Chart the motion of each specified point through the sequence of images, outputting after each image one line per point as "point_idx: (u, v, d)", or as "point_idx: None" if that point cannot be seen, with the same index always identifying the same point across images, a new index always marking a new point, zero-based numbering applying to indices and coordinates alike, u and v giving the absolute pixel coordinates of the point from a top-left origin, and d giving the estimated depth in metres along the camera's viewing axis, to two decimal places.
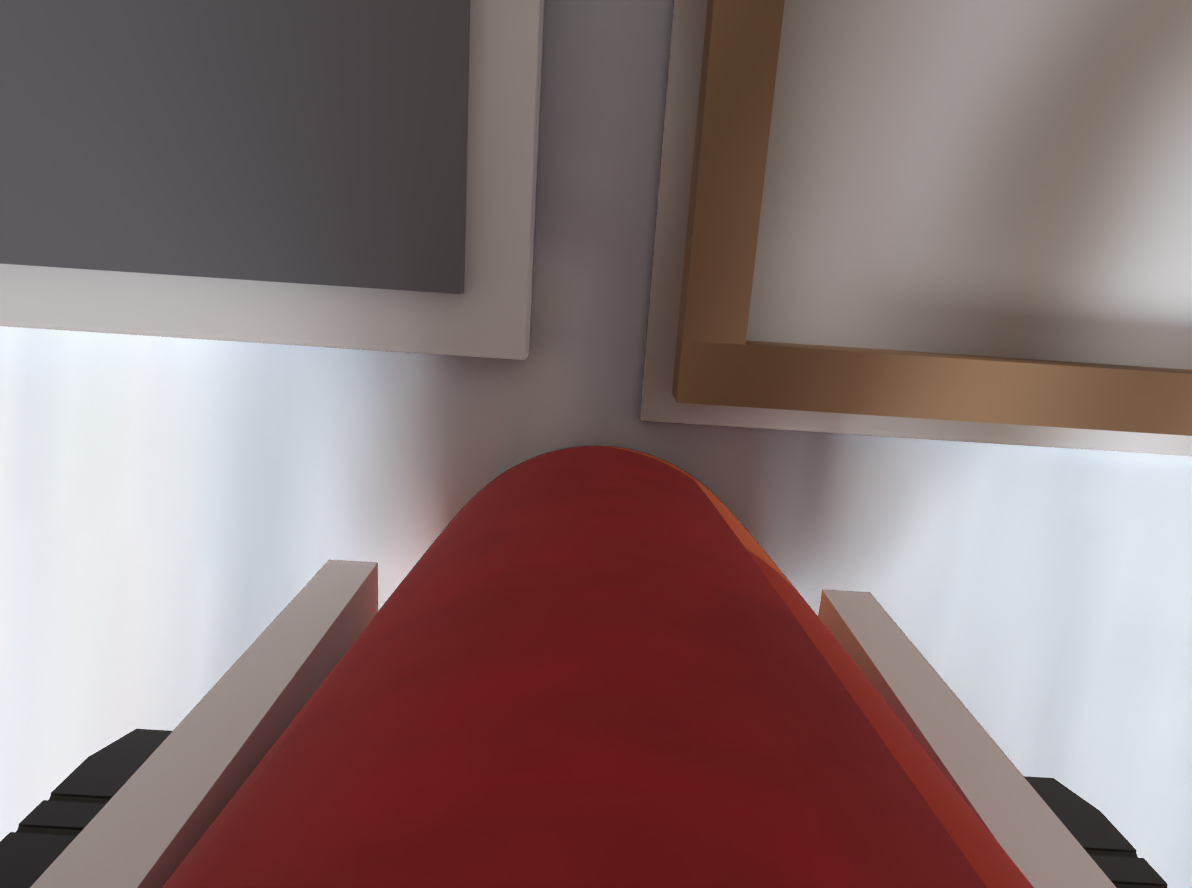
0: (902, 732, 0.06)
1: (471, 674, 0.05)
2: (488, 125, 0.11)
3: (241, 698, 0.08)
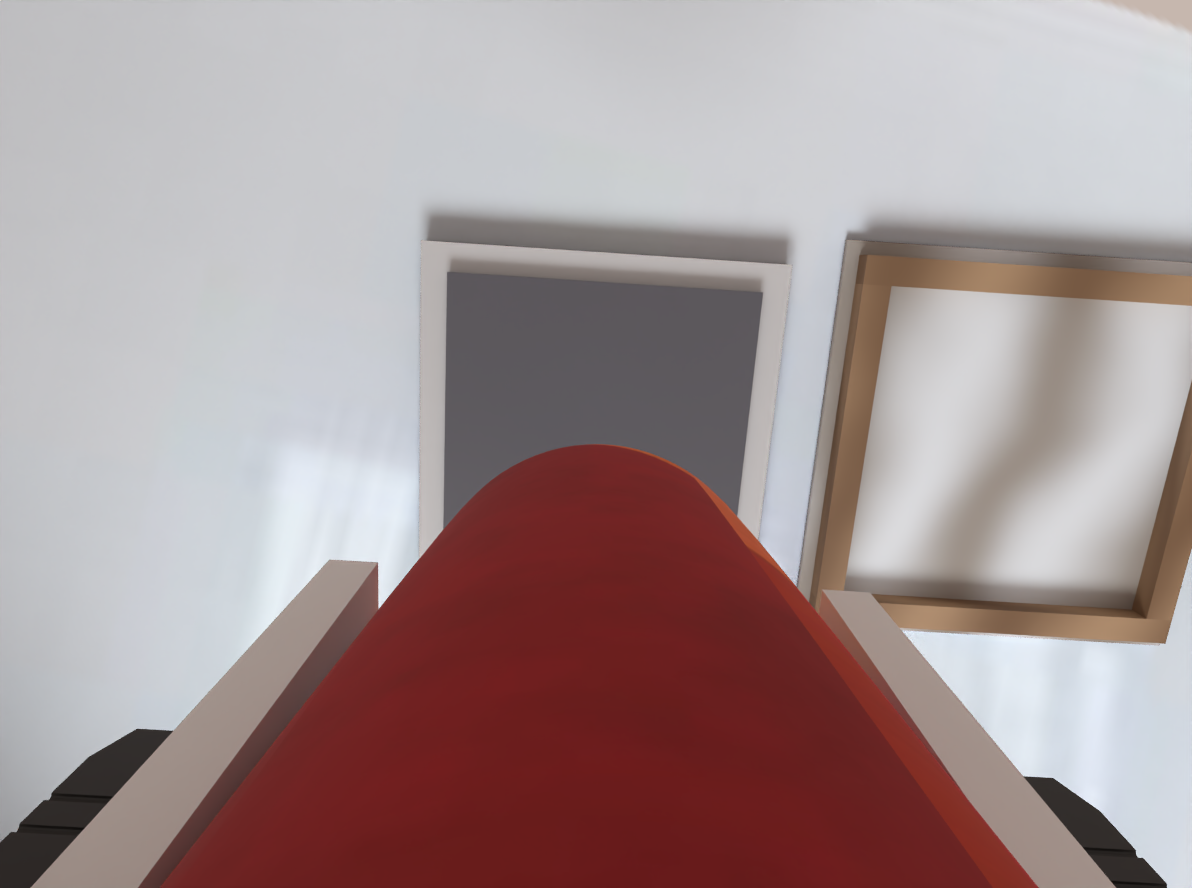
0: (903, 729, 0.06)
1: (473, 669, 0.05)
2: (742, 519, 0.28)
3: (242, 698, 0.08)
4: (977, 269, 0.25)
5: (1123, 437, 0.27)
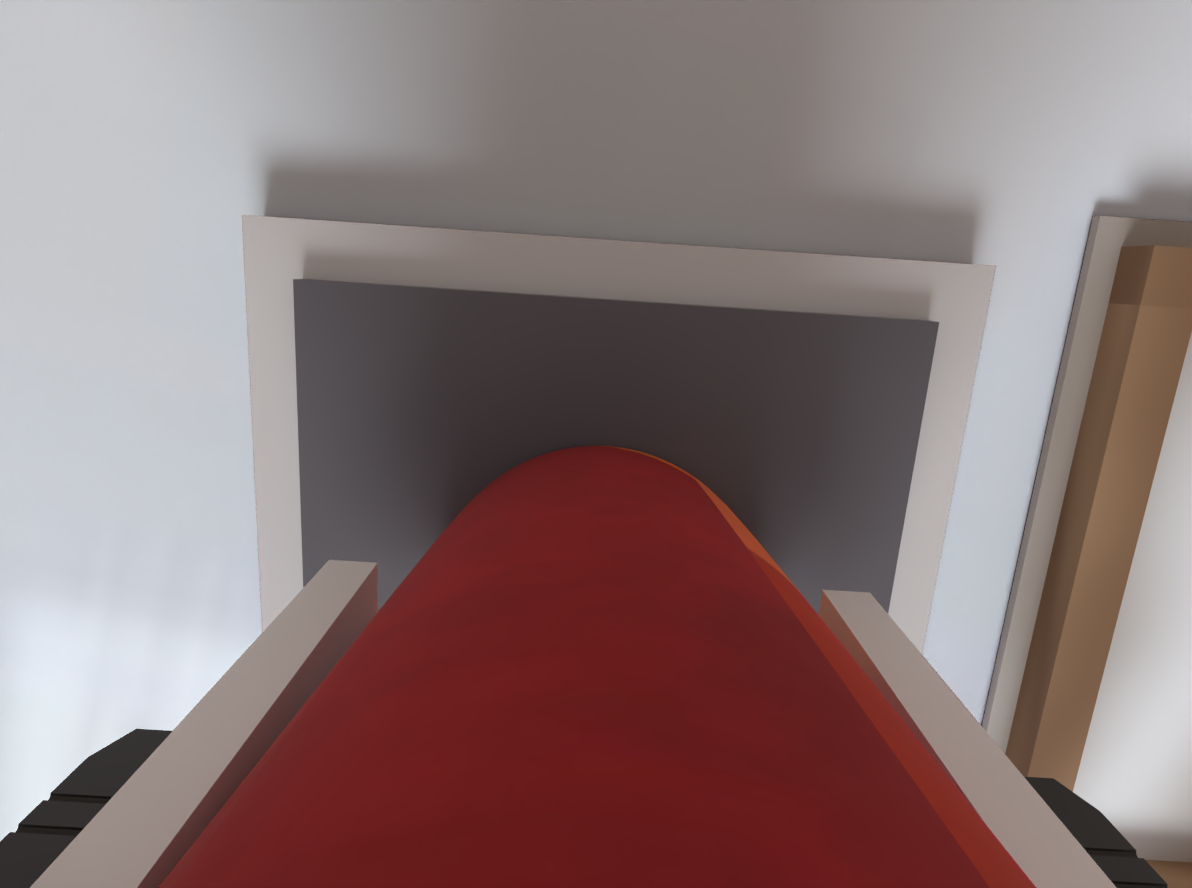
0: (903, 731, 0.05)
1: (473, 669, 0.05)
2: None
3: (241, 698, 0.08)
4: None
5: None
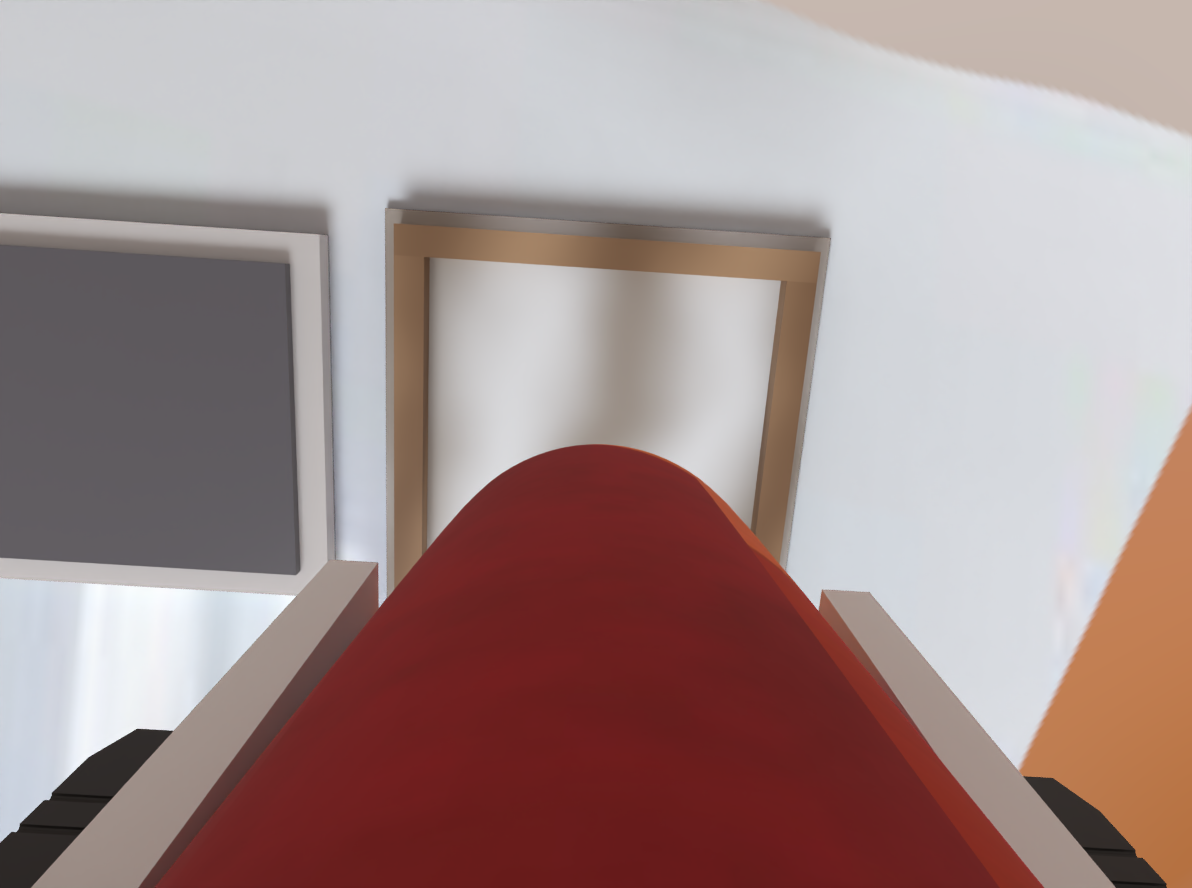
0: (905, 726, 0.05)
1: (474, 665, 0.05)
2: (306, 507, 0.26)
3: (242, 698, 0.08)
4: (513, 239, 0.24)
5: (707, 419, 0.26)
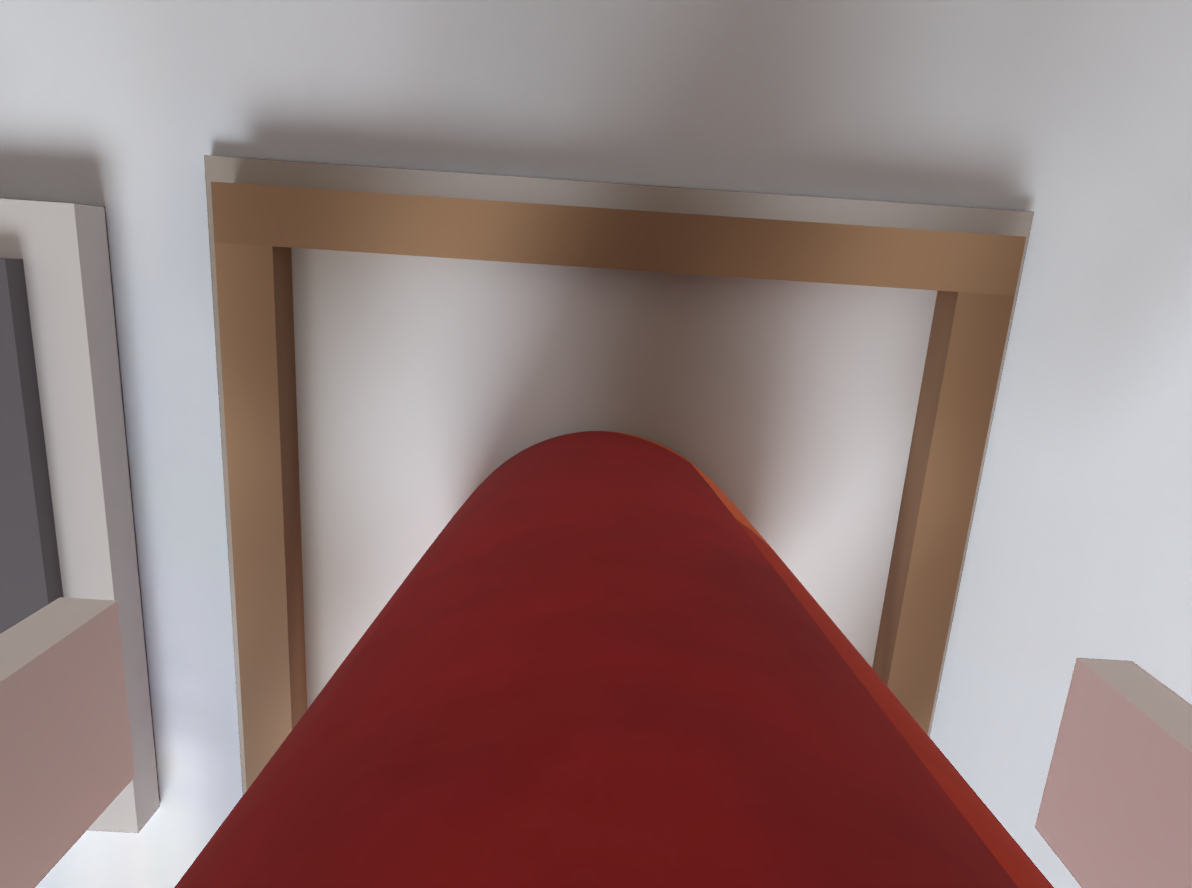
0: (861, 659, 0.07)
1: (516, 599, 0.06)
2: None
3: None
4: (440, 212, 0.12)
5: (795, 535, 0.15)
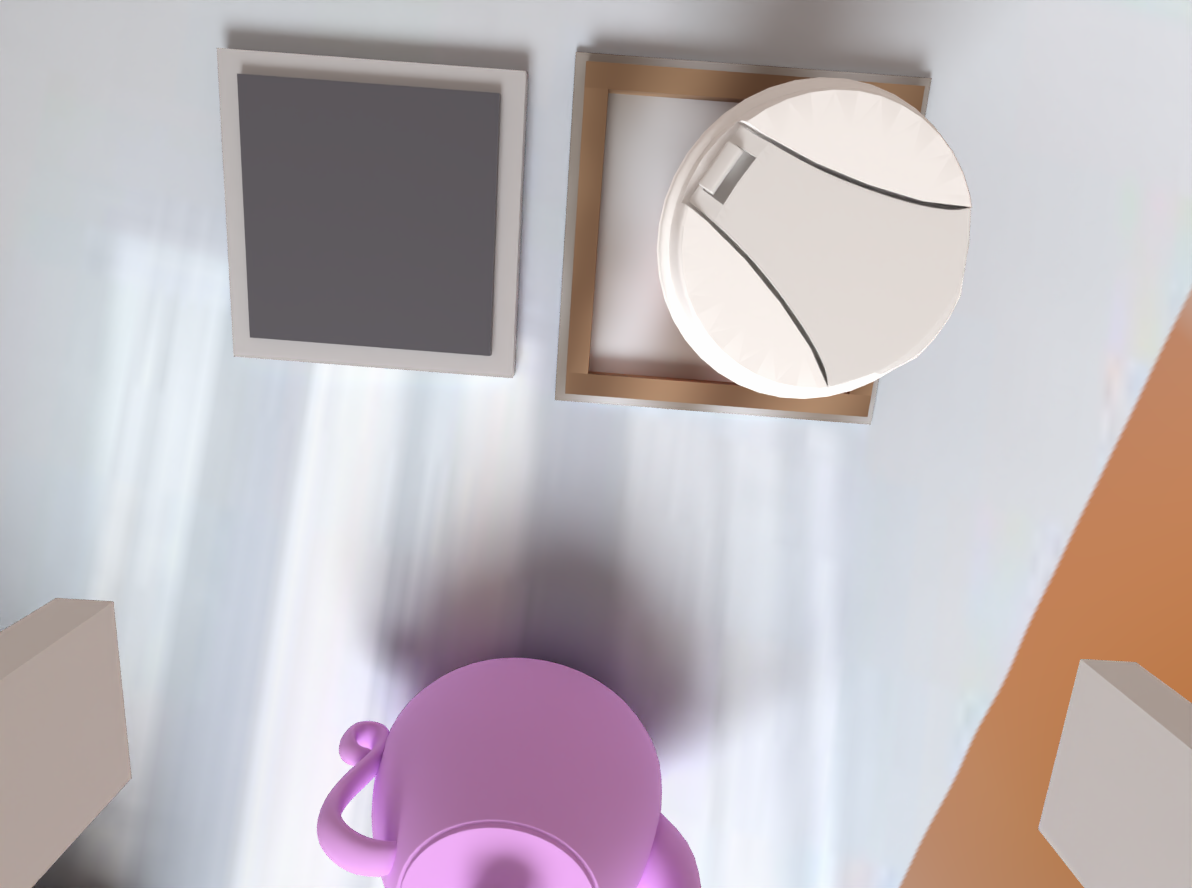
0: None
1: None
2: (500, 300, 0.33)
3: None
4: (679, 74, 0.30)
5: None
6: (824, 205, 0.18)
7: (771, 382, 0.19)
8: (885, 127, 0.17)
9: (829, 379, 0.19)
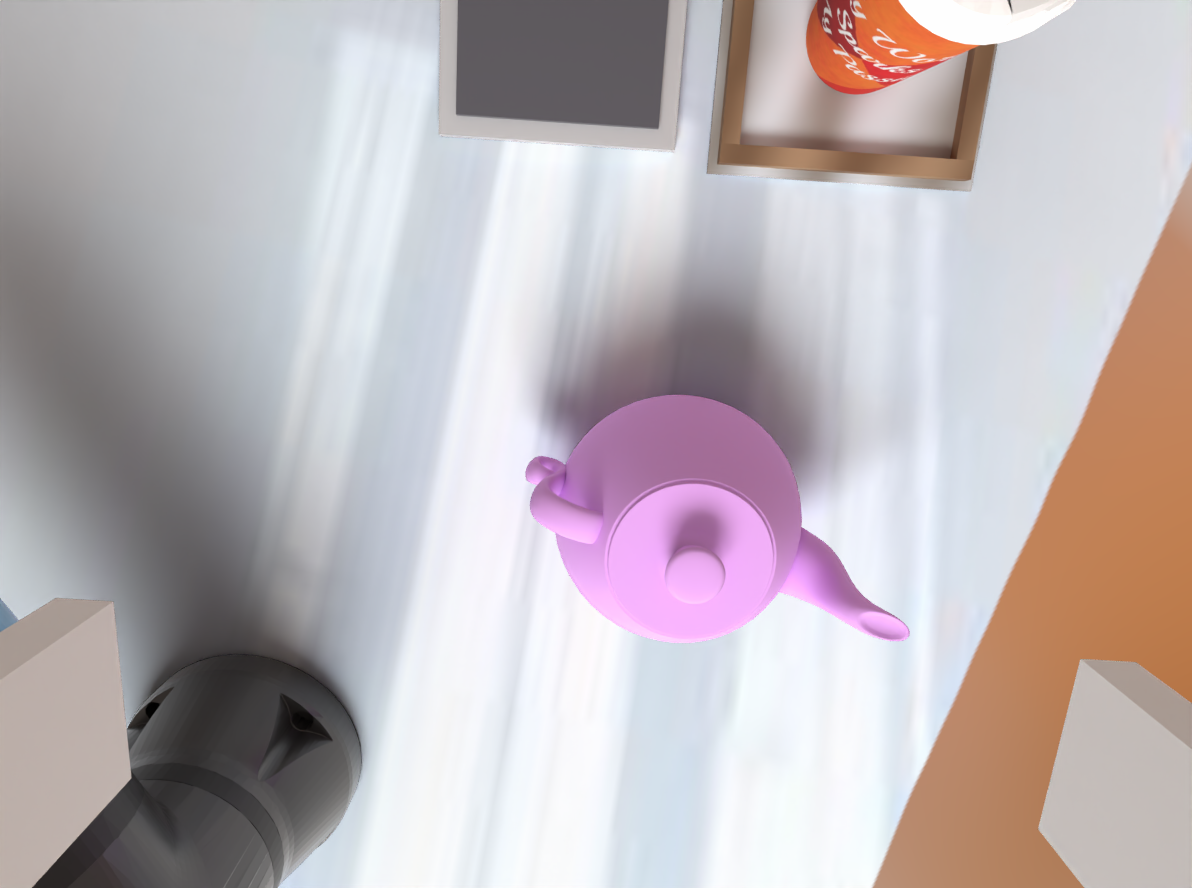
0: None
1: None
2: (667, 80, 0.39)
3: None
4: None
5: None
6: None
7: (970, 13, 0.26)
8: None
9: (1013, 10, 0.25)
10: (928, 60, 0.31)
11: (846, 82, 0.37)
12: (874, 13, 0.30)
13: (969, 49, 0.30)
